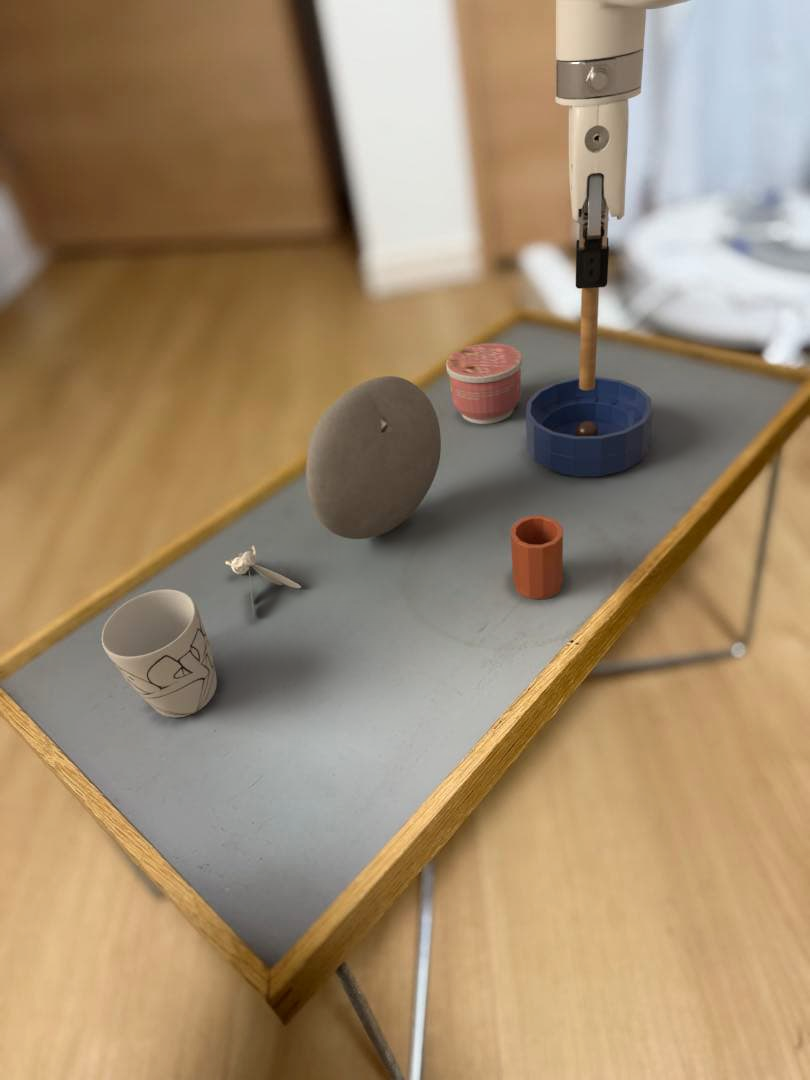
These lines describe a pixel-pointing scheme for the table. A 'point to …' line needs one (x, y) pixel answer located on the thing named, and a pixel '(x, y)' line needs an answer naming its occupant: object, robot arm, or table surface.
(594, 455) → the bowl
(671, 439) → the table surface
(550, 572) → the holder
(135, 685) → the mug
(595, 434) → the bead
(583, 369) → the stick
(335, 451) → the grey-brown thick disc
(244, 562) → the fairy figurine
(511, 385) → the container
